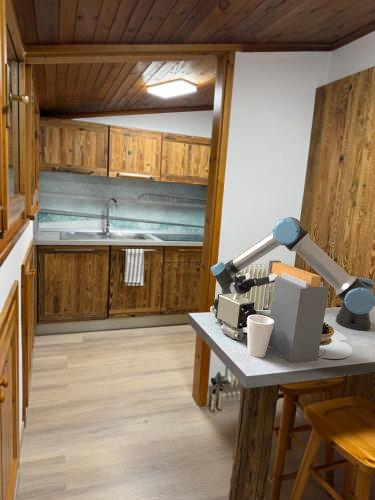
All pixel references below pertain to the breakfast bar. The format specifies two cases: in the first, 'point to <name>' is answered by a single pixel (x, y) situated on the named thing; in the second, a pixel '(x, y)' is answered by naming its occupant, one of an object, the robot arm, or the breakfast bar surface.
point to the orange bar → (294, 273)
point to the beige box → (215, 314)
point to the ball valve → (233, 313)
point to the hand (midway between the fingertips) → (264, 274)
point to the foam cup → (258, 334)
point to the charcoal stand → (297, 318)
